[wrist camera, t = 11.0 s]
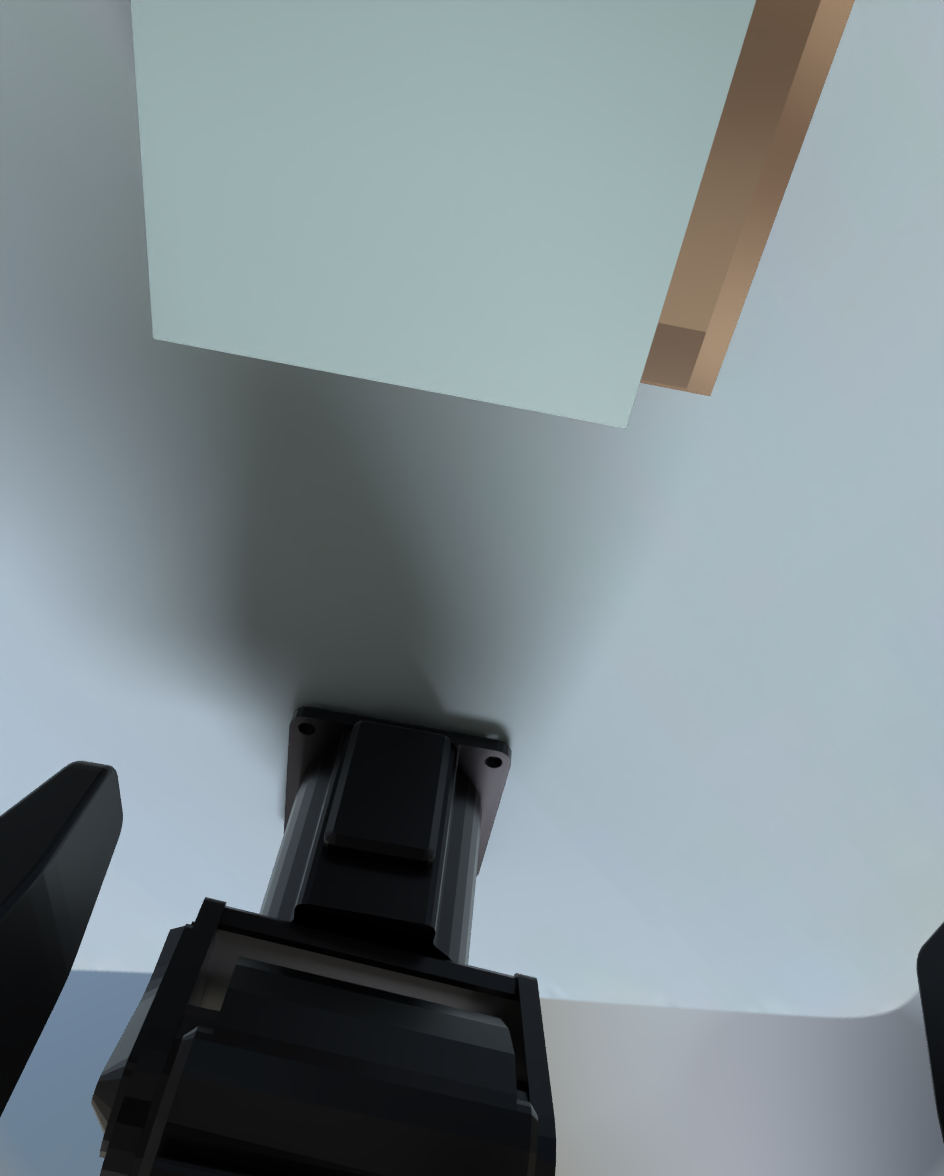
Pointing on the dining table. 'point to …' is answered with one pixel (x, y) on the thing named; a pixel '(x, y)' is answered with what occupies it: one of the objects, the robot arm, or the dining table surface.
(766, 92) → the walnut socket
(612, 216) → the painted peg
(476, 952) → the dining table surface
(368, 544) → the dining table surface
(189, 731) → the dining table surface
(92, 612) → the dining table surface
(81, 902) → the robot arm
